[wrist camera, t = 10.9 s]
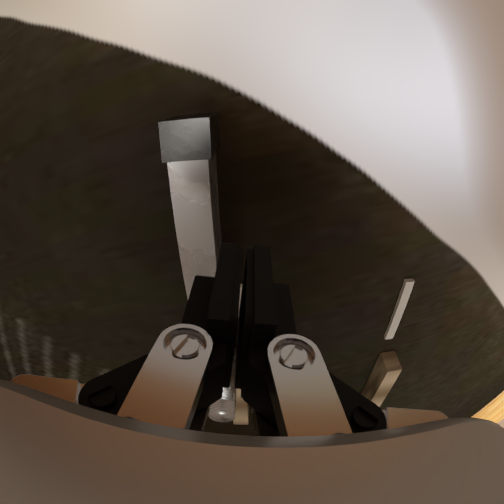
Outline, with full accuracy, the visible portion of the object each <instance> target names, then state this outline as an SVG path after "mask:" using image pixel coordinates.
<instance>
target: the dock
mask: <svg viewBox="0 0 504 504" xmlns="http://www.w3.org/2000/svg"><path fill="white" fill-rule="evenodd" d="M401 371H402V368H401V365H400V363H399V360H398V358H397V355H396V353H395V351H389V352H382V353H380V355H379V357H378V359H377V362H376V364H375V366H374V368H373V370H372V372H371V374H370V376H369V379H368V381H367V383H366V385H365V387H364V389H363V391H362V393H361V395H363V396H364V397H366V398H367V399H369V400H370V401H372V402H374V403H375V404H376V405H377V406H379V407H380V405H381V404H382V402H383V400H384V399H385V397H386V396H387V394H388V392H389V391H390V389H391V388H392V386H393V384H394V383H395V381H396V379H397V378H398V376H399V374H400V372H401ZM248 419H249V404H247V403H246V402H245V401H244V400H243V398H241V389H236V410H235V419H234V420H233V424H238V425H248Z"/></svg>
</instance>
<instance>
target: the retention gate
mask: <svg viewBox="0 0 504 504" xmlns="http://www.w3.org/2000/svg"><path fill="white" fill-rule="evenodd" d="M158 125H159V137H160V147H161V157H162V163H165V162H167V164H168V174H169V182H170V191H171V199H172V206H173V214H174V221H175V228H176V234H177V241H178V247H179V253H180V259H181V265H182V271H183V277H184V282H185V288H186V293H187V298H188V299H189V295H190V292H191V288H192V285H193V281H194V278H195V276H196V275H200V276H209V277H215V273H216V268H217V263H218V258H219V253H220V248H221V243H222V239H221V225H220V211H219V196H218V180H217V163H216V151H217V150H218V148H219V147H220V145H219V123H218V113H207V114H194V115H183V116H175V117H172V118H169V119H166V120H163V121H160V122H158ZM236 356H237V349H236V348H235V350H234V357H233V365H232V373H231V380H230V388H225V387H223V392H222V398H221V399H219V400H218V401H216V402H215V403H213V404H212V405H210V411H209V418H210V419H212V420H214V421H217V422H230V421H233V420H234V419H235V410H236V388H235V374H236Z"/></svg>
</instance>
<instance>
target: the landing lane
mask: <svg viewBox="0 0 504 504" xmlns="http://www.w3.org/2000/svg"><path fill="white" fill-rule="evenodd" d="M414 282H415V281H414V280H413V279H404V282H403V285H402V288H401V291H400V294H399V297H398V300H397V303H396V305H395V308H394V311H393V314H392V316H391V319H390V322H389V324H388V327H387V330H386V332H385V335H384V338H385V339H393V337H394V334H395V332H396V330H397V327H398V325H399V322H400V320H401V317H402V315H403V312H404V310H405V307H406V304H407V302H408V299H409V296H410V293H411V291H412V288H413V285H414ZM242 285H243V284H240V299H239V308H240V300H241V293H242ZM238 316H239V315H238Z"/></svg>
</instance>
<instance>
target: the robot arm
mask: <svg viewBox="0 0 504 504" xmlns="http://www.w3.org/2000/svg"><path fill="white" fill-rule="evenodd" d="M242 251H243V248H238V247H237V243H229V242H222V243H221V248H220V253H219V258H218V263H217V268H216V273H215V277H209V276H200V275H196V276H195V278H194V281H193V285H192V288H191V292H190V295H189V299H188V302H187V306H186V309H185V313H184V317H183V320H182V324H177V325H174V326H170V327H168V328H167V329H165V330H164V331H163V332H162V333H161V334H160V335H159V337H158V339H157V341H156V342H155V344H154V346H153V348H152V350H151V352H150V353H149V354H147V355H145V356H143V357H140V358H138V359H136V360H134V361H132V362H130V363H127V364H125V365H123V366H121V367H119V368H116V369H114V370H112V371H110V372H108V373H105V374H103V375H101V376H98V377H96V378H94V379H92V380H90V381H89V382H87V383H86V384H80V382H79V380H71V379H60V378H51V377H43V376H35V375H28V374H25V375H19V376H17V377H15V378H14V379H13V380H12V381H11V382H10V381H5V380H0V504H504V428H502V427H501V426H500V425H498V424H497V423H494V422H492V421H488V420H484V419H478V418H449V419H448V417H447V416H446V415H445V414H443V413H442V412H439V411H435V410H416V409H403V408H392V407H387V408H386V409H385V410H381V408H380V407H379V406H377V405H376V404H375V403H374V402H372V401H370V400H369V399H367V398H366V397H364V396H363V395H361V394H360V393H358V392H357V391H355V390H354V389H352V388H351V387H349V386H348V385H346V384H345V383H343V382H342V381H341V380H339V379H338V378H336V377H335V376H333V375H332V374H330V373H329V372H328V370H327V367H326V365H325V363H324V360H323V358H322V355H321V353H320V351H319V349H318V347H317V346H316V345H315V344H314V343H313V342H312V341H311V340H309V339H307V338H305V337H303V336H300V335H297V333H296V327H295V321H294V315H293V309H292V303H291V297H290V291H289V286H288V285H285V284H275V283H273V278H272V268H271V258H270V248H269V247H265V246H256V245H254V247H253V249H247V255H246V263H245V270H244V278H243V285H242V293H241V300H240V308H239V299H240V283H241V267H242ZM238 315H239V320H238ZM237 326H238V338H237V356H236V374H235V388H236V389H241V398H243V400H244V401H245V402H246V403H247V404H249V405H250V406H251V407H252V417H253V423H254V428H255V434H256V436H246V435H231V434H220V433H210V432H203V431H204V427H205V424H206V421H207V417H208V414H209V411H210V405H212V404H213V403H215V402H216V401H218V400H219V399H221V398H222V392H223V387H225V388H230V380H231V373H232V365H233V357H234V350H235V342H236V334H237Z"/></svg>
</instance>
